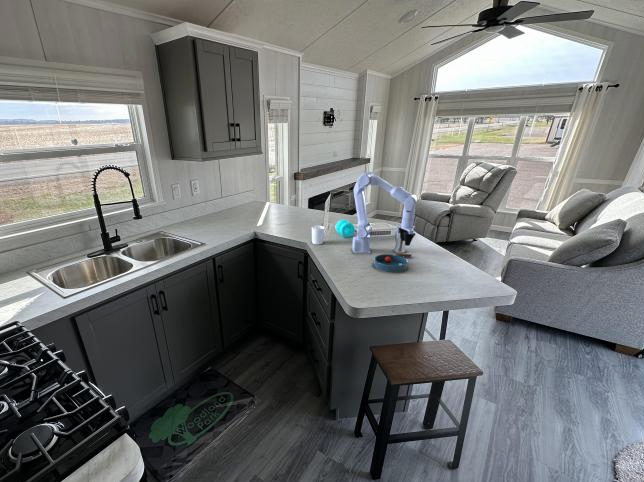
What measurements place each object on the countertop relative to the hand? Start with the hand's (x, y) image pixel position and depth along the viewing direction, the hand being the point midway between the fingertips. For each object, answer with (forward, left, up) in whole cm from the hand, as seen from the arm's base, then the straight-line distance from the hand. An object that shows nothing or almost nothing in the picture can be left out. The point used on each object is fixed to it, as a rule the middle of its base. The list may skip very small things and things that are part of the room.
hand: (405, 243), depth 175 cm
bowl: (-10, -12, -9) cm, 18 cm away
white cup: (-45, +25, -9) cm, 52 cm away
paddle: (0, 0, -9) cm, 9 cm away
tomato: (-10, -7, -8) cm, 15 cm away
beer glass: (+1, +10, -8) cm, 13 cm away
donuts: (-27, +39, -3) cm, 47 cm away
